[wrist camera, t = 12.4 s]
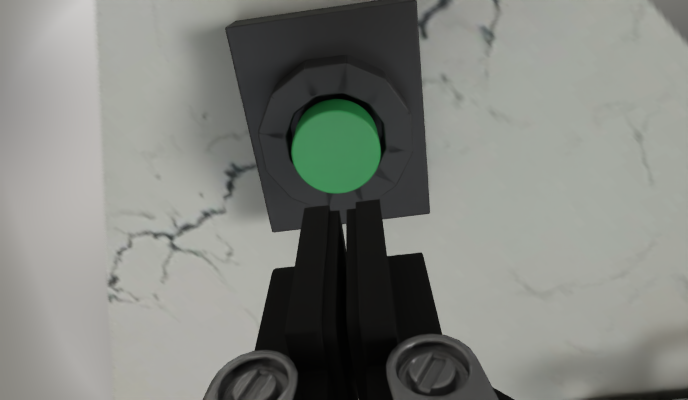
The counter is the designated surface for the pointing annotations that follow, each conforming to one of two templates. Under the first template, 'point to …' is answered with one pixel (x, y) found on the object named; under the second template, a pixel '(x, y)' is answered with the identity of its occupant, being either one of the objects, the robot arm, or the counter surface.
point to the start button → (336, 146)
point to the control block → (334, 83)
